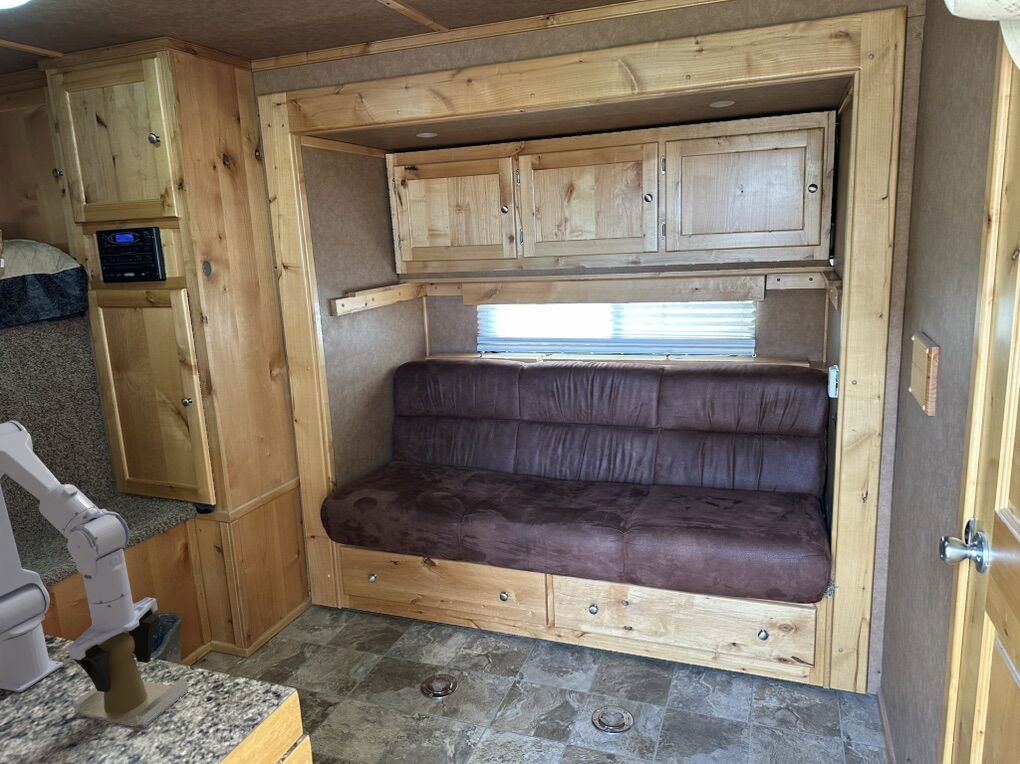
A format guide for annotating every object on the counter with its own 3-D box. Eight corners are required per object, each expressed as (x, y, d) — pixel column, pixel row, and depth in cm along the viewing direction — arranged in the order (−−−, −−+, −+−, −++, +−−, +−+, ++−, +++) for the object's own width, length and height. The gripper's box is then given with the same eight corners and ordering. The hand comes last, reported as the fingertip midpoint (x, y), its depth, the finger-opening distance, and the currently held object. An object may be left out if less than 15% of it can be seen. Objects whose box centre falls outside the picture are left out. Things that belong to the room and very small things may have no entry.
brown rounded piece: (155, 690, 115) (144, 627, 113) (130, 715, 109) (117, 649, 107) (122, 688, 116) (110, 626, 114) (95, 713, 110) (81, 647, 108)
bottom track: (75, 714, 111) (72, 703, 111) (122, 680, 119) (120, 669, 119) (144, 728, 107) (142, 716, 106) (188, 691, 115) (186, 680, 115)
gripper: (87, 622, 101) (105, 708, 104) (166, 574, 114) (179, 652, 117) (50, 616, 103) (68, 701, 106) (132, 571, 117) (146, 647, 119)
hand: (124, 675), depth 112 cm, fingers open, 7 cm apart
